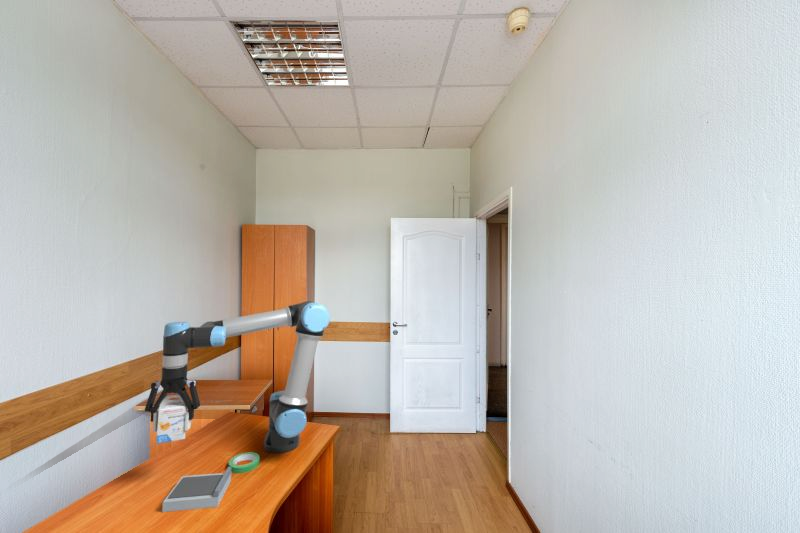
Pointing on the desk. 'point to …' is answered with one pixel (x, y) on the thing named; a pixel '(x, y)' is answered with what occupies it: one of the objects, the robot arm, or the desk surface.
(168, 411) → the ink box
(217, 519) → the desk surface
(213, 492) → the dock
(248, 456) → the tape roll
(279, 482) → the desk surface
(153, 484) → the desk surface
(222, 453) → the desk surface
